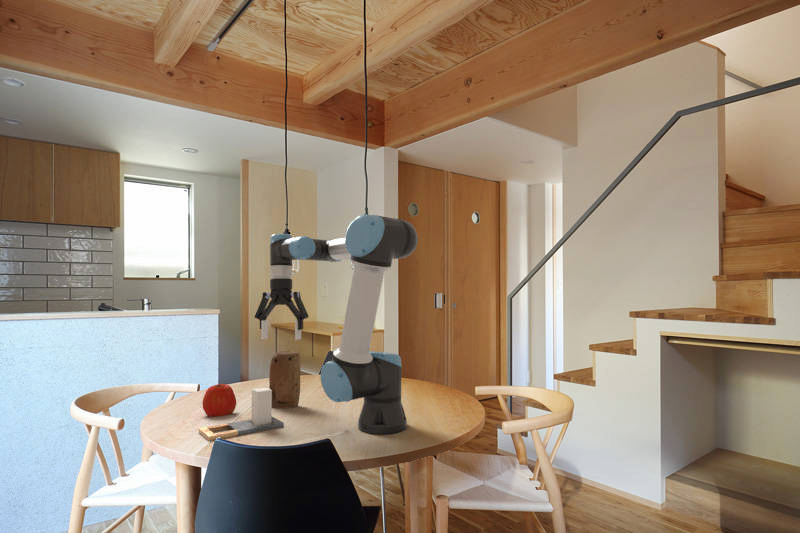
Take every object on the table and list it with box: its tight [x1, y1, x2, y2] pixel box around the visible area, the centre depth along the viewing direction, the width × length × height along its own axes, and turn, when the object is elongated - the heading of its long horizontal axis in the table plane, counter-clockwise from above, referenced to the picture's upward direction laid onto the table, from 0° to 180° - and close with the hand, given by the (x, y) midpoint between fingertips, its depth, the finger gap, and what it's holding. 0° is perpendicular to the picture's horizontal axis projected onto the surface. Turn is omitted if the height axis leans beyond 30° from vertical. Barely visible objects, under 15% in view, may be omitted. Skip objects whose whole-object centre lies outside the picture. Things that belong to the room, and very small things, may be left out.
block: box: [268, 350, 301, 409], centre depth 170 cm, size 11×8×20 cm
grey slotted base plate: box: [198, 415, 285, 442], centre depth 140 cm, size 10×22×2 cm, turn 129°
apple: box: [202, 383, 237, 418], centre depth 159 cm, size 11×11×11 cm
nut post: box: [251, 387, 273, 426], centre depth 144 cm, size 4×4×11 cm
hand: (281, 339), depth 163 cm, fingers open, 13 cm apart
